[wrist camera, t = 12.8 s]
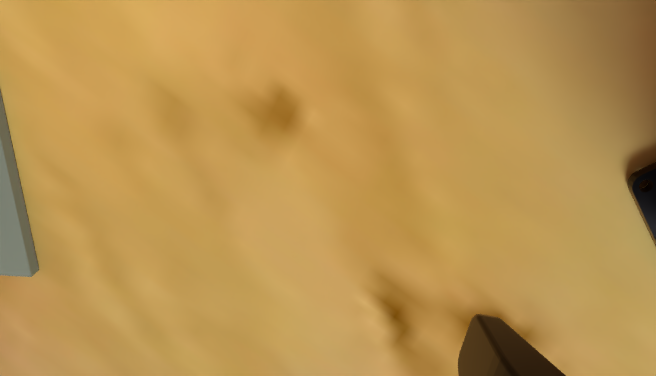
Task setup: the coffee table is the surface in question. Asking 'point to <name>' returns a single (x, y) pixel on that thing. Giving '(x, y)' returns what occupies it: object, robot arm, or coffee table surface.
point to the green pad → (13, 213)
